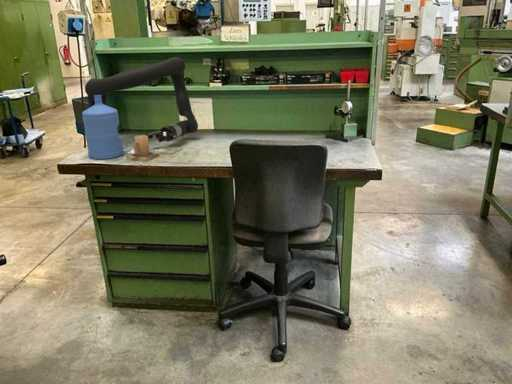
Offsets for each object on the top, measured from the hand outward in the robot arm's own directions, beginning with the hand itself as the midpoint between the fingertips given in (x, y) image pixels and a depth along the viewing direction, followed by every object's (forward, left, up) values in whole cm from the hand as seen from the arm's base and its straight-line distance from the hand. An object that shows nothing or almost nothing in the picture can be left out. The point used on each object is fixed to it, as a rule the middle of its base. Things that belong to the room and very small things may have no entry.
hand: (151, 139), depth 195 cm
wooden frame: (0, -7, -7) cm, 10 cm away
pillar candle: (0, -8, -7) cm, 11 cm away
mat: (+4, +7, -7) cm, 10 cm away
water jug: (-19, -10, -7) cm, 23 cm away
